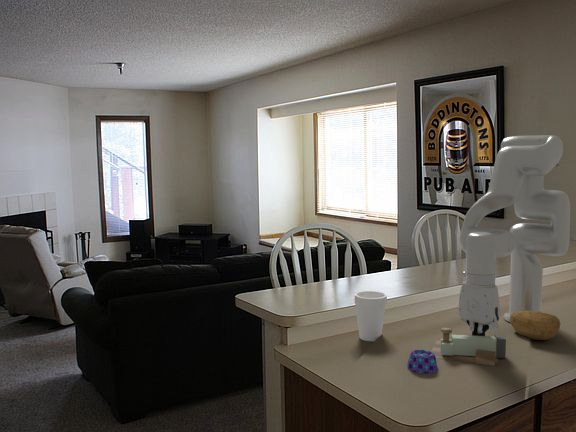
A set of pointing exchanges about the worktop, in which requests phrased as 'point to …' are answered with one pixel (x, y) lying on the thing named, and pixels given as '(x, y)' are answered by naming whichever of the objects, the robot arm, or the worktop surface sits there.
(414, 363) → the purple spotted dome
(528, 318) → the potato
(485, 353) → the stool seat
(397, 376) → the worktop surface
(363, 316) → the foam cup
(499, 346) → the leg
